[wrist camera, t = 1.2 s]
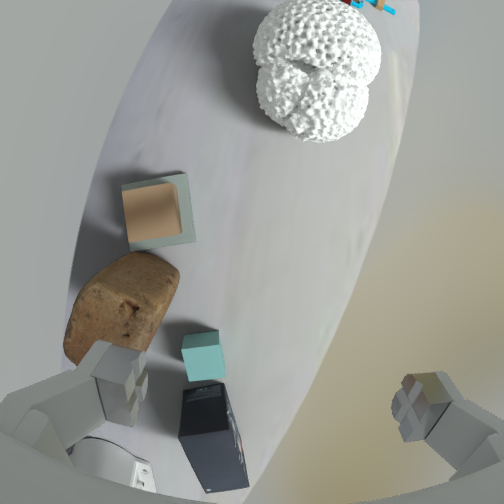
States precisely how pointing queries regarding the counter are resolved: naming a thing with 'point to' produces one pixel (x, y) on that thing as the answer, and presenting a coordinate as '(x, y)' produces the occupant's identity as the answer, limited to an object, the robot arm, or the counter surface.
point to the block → (121, 305)
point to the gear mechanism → (379, 3)
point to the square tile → (184, 207)
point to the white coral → (315, 67)
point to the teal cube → (203, 356)
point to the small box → (212, 439)
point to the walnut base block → (152, 212)
